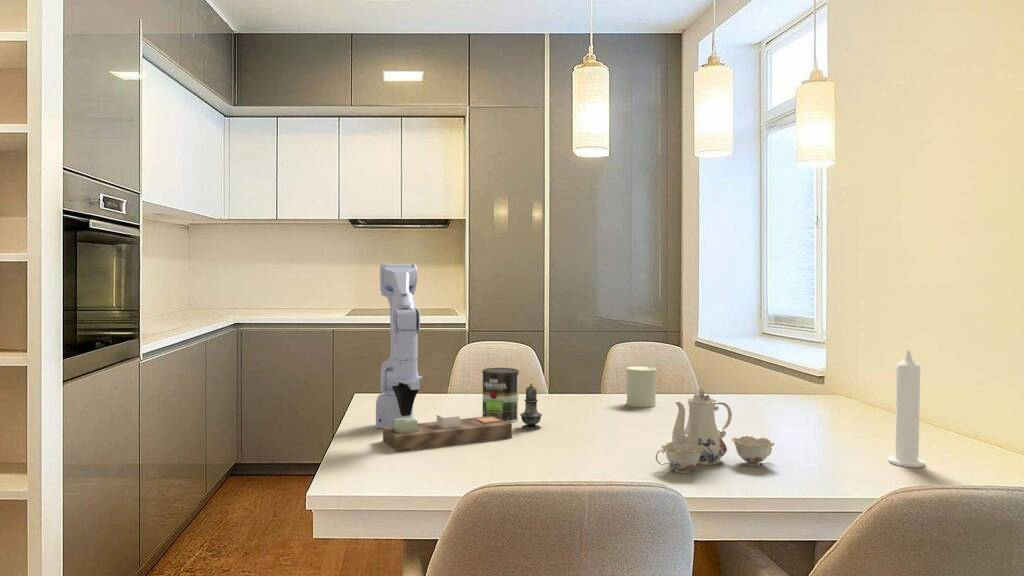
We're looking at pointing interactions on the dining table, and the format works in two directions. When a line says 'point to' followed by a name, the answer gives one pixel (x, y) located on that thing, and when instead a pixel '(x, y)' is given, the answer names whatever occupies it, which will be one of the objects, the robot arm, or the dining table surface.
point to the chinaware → (707, 438)
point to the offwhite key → (448, 420)
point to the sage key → (405, 425)
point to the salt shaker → (531, 410)
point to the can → (641, 386)
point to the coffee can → (500, 393)
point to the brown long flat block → (446, 434)
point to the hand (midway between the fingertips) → (405, 415)
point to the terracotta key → (488, 420)
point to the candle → (907, 414)
